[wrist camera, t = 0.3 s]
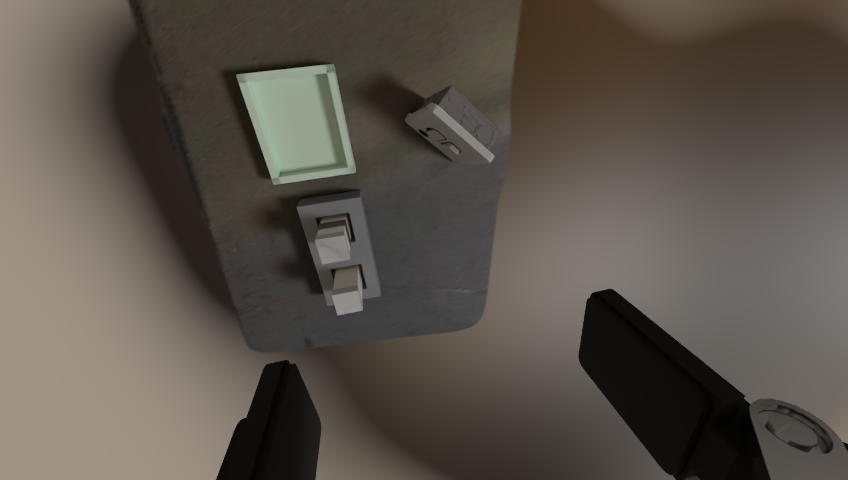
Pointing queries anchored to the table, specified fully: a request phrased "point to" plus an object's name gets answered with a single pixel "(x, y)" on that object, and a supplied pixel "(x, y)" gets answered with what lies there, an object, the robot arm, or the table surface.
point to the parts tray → (299, 122)
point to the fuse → (348, 289)
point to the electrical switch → (455, 127)
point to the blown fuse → (334, 238)
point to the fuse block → (360, 239)
